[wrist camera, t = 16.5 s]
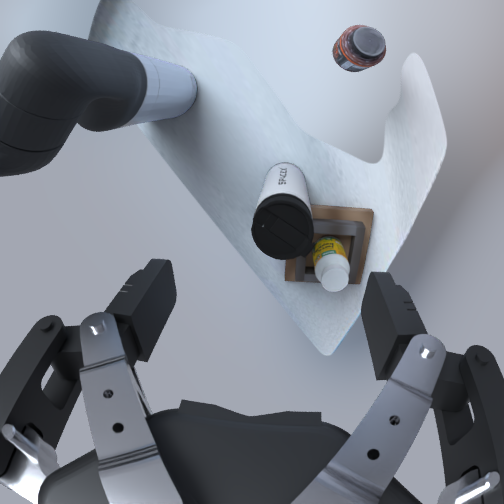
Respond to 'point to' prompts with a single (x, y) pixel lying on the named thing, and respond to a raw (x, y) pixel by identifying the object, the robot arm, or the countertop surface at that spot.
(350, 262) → the square tray with rim
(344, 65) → the supplement bottle
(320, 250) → the supplement bottle
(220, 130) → the countertop surface
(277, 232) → the travel mug
